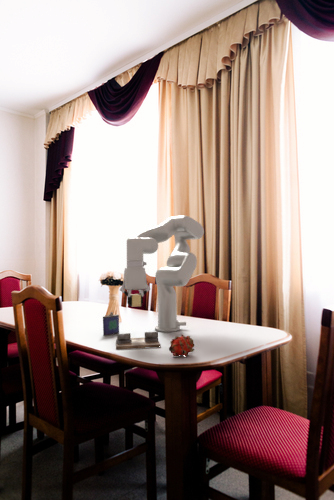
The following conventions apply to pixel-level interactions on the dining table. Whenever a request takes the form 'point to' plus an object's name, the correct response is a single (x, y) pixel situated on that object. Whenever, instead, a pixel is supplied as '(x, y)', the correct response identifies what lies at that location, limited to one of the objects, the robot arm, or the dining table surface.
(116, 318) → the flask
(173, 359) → the dining table surface
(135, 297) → the coupler
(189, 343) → the dragon fruit
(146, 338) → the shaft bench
